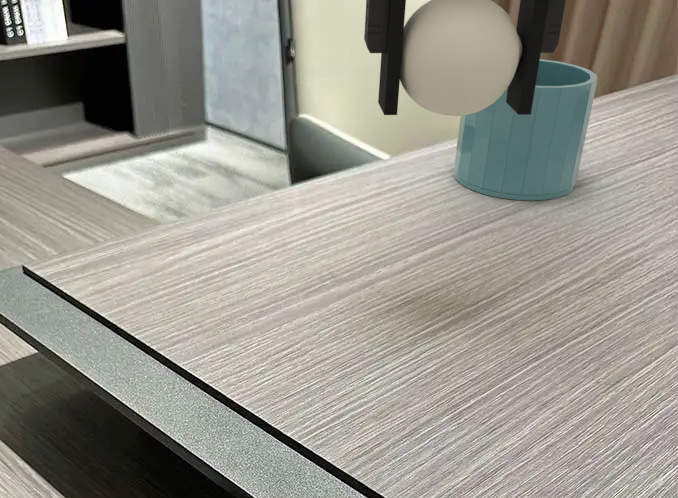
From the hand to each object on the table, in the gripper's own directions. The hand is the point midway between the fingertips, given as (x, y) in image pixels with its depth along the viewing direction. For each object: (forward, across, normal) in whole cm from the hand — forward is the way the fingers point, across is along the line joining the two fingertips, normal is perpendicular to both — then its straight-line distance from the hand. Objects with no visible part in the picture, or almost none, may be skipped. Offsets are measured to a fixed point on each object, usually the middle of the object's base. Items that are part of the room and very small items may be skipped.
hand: (452, 107), depth 49 cm
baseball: (0, 0, 0) cm, 1 cm away
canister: (+14, +13, +25) cm, 31 cm away
